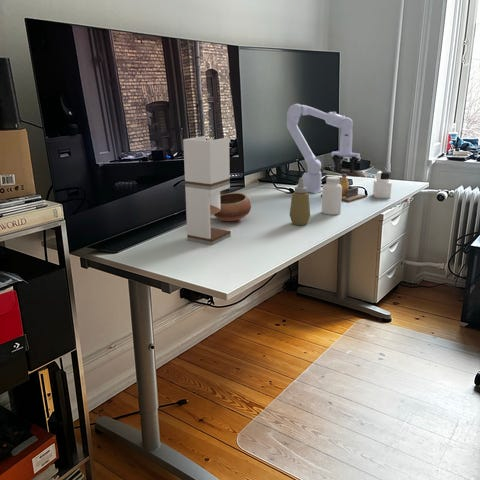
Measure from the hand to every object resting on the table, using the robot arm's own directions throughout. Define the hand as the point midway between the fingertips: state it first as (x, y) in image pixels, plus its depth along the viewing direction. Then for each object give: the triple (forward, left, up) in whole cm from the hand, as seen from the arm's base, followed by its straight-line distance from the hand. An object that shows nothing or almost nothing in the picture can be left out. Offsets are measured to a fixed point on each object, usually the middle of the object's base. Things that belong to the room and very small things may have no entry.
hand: (344, 171), depth 239 cm
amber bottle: (+6, -9, -9) cm, 14 cm away
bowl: (-3, -73, -11) cm, 74 cm away
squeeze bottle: (+20, -58, -11) cm, 62 cm away
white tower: (+9, -95, -11) cm, 96 cm away
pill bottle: (+19, -36, -11) cm, 42 cm away
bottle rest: (+6, -8, -10) cm, 14 cm away
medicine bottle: (+18, +6, -11) cm, 21 cm away
